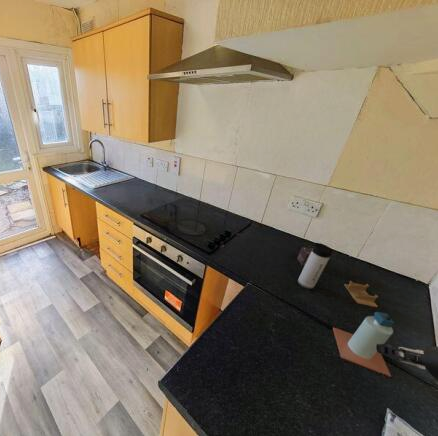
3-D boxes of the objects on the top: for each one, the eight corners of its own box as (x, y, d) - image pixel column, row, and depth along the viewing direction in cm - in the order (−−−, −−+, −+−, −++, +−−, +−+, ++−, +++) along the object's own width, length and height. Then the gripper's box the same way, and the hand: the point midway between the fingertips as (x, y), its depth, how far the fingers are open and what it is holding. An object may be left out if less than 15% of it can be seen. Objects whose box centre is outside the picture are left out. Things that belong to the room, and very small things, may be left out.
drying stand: (377, 307, 90) (382, 300, 88) (356, 303, 92) (361, 296, 90) (362, 288, 100) (366, 282, 98) (344, 284, 101) (347, 278, 99)
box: (301, 265, 112) (307, 253, 108) (296, 258, 117) (301, 246, 114) (314, 267, 111) (320, 255, 108) (308, 260, 116) (314, 248, 113)
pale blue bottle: (365, 343, 75) (376, 362, 70) (344, 338, 76) (353, 355, 71) (393, 309, 67) (407, 326, 62) (368, 303, 69) (380, 320, 63)
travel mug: (298, 276, 104) (316, 240, 95) (315, 284, 100) (335, 247, 91) (295, 282, 100) (312, 245, 91) (312, 291, 96) (332, 253, 87)
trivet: (375, 343, 76) (375, 342, 76) (390, 377, 66) (391, 376, 66) (332, 328, 80) (333, 327, 80) (341, 357, 71) (341, 357, 70)
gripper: (426, 380, 46) (366, 360, 61) (519, 406, 43) (431, 377, 58) (422, 340, 48) (365, 330, 63) (510, 362, 45) (428, 345, 60)
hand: (397, 353), depth 60 cm, fingers open, 8 cm apart
